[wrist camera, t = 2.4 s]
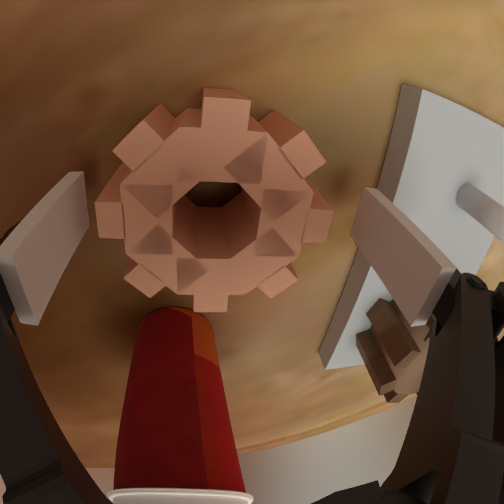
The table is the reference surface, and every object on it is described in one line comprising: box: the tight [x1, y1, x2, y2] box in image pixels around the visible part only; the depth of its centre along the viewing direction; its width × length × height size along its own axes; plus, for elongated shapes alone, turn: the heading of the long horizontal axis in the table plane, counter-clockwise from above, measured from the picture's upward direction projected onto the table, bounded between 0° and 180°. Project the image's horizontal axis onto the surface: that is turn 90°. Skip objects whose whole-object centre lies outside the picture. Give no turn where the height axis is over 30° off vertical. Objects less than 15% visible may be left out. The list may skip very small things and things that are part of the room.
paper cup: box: [107, 307, 253, 504], centre depth 17 cm, size 8×8×14 cm
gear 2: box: [356, 298, 436, 403], centre depth 20 cm, size 10×10×6 cm
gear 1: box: [95, 88, 334, 312], centre depth 14 cm, size 10×10×5 cm
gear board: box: [319, 84, 504, 370], centre depth 19 cm, size 12×22×7 cm, turn 173°
